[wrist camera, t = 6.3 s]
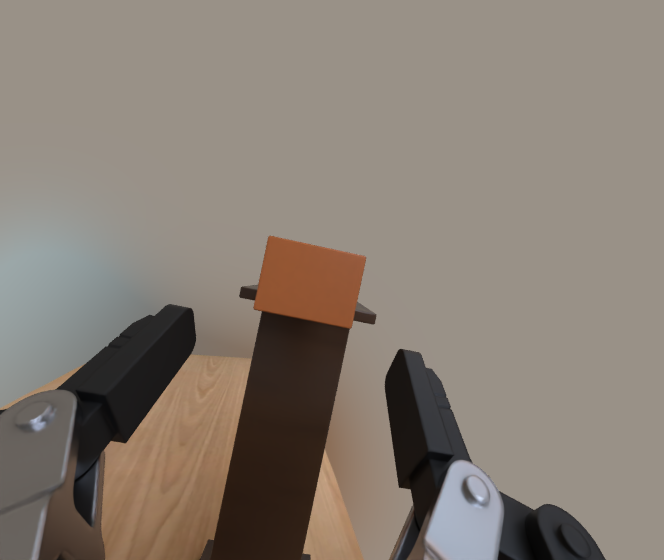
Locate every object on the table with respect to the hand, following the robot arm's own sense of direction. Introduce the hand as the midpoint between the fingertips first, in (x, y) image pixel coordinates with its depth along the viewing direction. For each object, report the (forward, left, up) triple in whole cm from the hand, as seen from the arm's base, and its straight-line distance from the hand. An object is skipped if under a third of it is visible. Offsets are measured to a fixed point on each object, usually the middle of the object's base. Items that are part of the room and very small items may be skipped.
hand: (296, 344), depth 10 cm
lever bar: (+3, -10, +1) cm, 10 cm away
